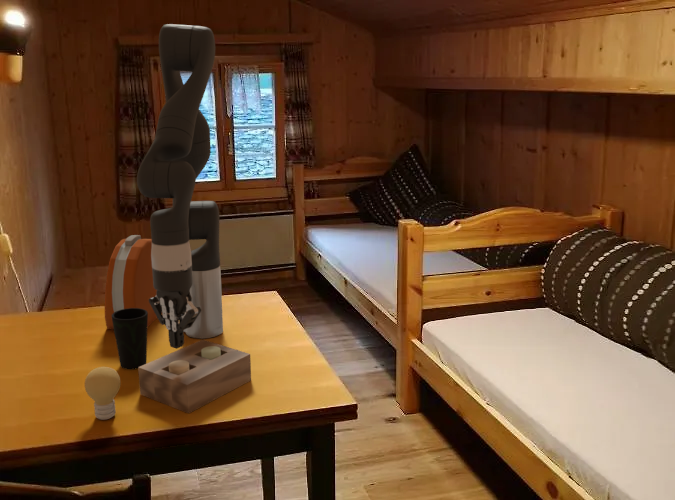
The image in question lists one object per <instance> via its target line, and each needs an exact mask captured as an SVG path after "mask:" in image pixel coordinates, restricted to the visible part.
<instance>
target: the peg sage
mask: <svg viewBox="0 0 675 500" xmlns="http://www.w3.org/2000/svg"><path fill="white" fill-rule="evenodd" d="M201 355H202V357H203V358H206V359H209V360H212V359H215V358H217V357H219V356H221V349H220V348H219V347H216V346H209V347H205V348H203V349H202V350H201Z"/></svg>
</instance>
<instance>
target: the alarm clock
mask: <svg viewBox="0 0 675 500" xmlns="http://www.w3.org/2000/svg"><path fill="white" fill-rule="evenodd" d="M151 249H152V238H142V237H141V235H140V234H139V235H138V234H134V235H133V234H132V235H129V236H128V237H126V238H122V239H121V240H120V241H119V242H118V243H117V244H116V245H115V247H114V249H113V251H112V253H111V256H110V258H109V263H108V267H107V271H106V273H107V274H106V278H105V279H106V280H105V289H104V320H105V325H106V328H107V330H114V327H113V322H112V314H113V313H114V312H116V311H118V310H122V309H128V308H140V309H144V310H146V311H147V312H148V323H147V328H148V327H149V326H150V325H151V324H152V323H154V322H155V321H156V320H158V318H157V316H156V314H155V312H154V311H153V309H152V307H151V305H150V303H149V299H150V298H152V297H155V296H156V291H157V290H156V289H155V288H154V286H153V274H152V259H151Z"/></svg>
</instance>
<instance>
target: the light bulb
mask: <svg viewBox="0 0 675 500" xmlns="http://www.w3.org/2000/svg"><path fill="white" fill-rule="evenodd" d="M120 387H121V377H120V375H119V373H118V371H116V369H114V368H112V367H108V366H98V367H96V368H94V369H92V370H91V371H89V372H88V374H87V375H86V377H85V381H84V389H85V393H86V394H87V396H89V397H90V399H91V400H93V401H94V403H93V406H94V416H95V418H97V419H98V420H101V421H102V420H103V421H106V420H109V419H112V418H113V417H114V416H115V415H116V403H115V402H116V401H115V399H114V398H116V396H117V394H118V392H119V390H120Z"/></svg>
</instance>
